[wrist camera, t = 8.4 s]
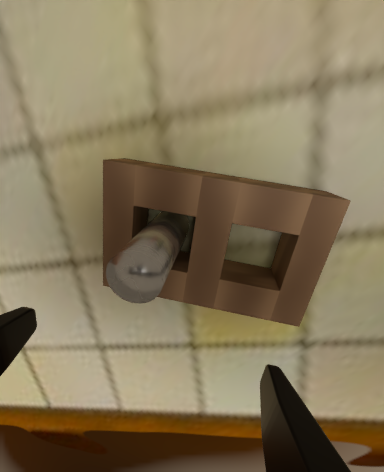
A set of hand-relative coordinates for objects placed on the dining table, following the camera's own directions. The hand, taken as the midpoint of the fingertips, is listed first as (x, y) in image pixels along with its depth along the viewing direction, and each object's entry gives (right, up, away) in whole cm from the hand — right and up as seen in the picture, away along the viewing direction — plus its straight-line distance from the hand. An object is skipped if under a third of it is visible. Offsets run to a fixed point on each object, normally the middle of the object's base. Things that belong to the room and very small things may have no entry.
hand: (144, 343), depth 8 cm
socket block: (+3, +4, +11) cm, 12 cm away
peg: (0, +5, +11) cm, 12 cm away
